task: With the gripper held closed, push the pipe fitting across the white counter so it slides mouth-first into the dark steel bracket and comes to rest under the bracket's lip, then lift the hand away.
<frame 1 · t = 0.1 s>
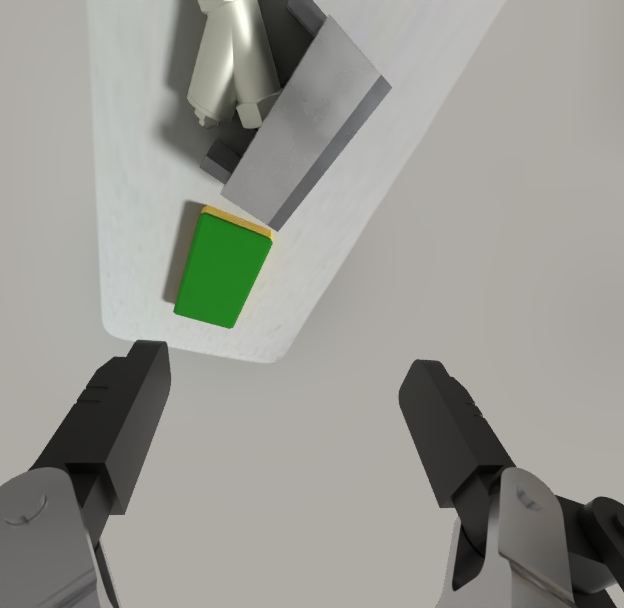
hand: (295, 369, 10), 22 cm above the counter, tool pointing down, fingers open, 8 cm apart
dish sponge: (222, 266, 34), on the counter
pipe fitting: (228, 59, 22), on the counter
bracket: (285, 114, 24), on the counter
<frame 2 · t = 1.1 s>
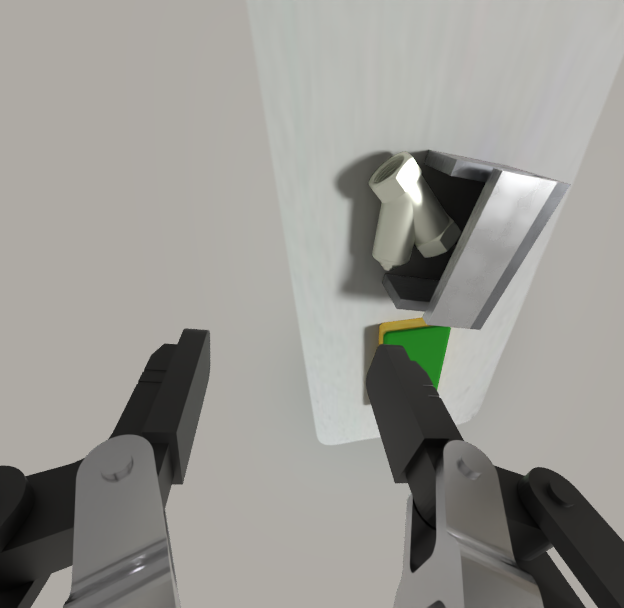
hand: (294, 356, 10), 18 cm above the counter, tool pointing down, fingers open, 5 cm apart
dish sponge: (404, 359, 37), on the counter
pipe fitting: (390, 214, 26), on the counter
bracket: (438, 229, 27), on the counter
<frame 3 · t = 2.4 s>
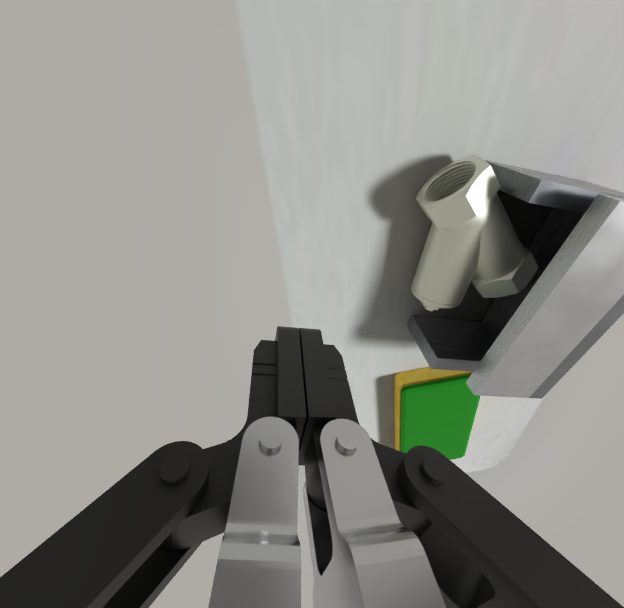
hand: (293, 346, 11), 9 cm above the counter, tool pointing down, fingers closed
dish sponge: (426, 406, 31), on the counter
pipe fitting: (437, 237, 20), on the counter
bracket: (485, 263, 21), on the counter
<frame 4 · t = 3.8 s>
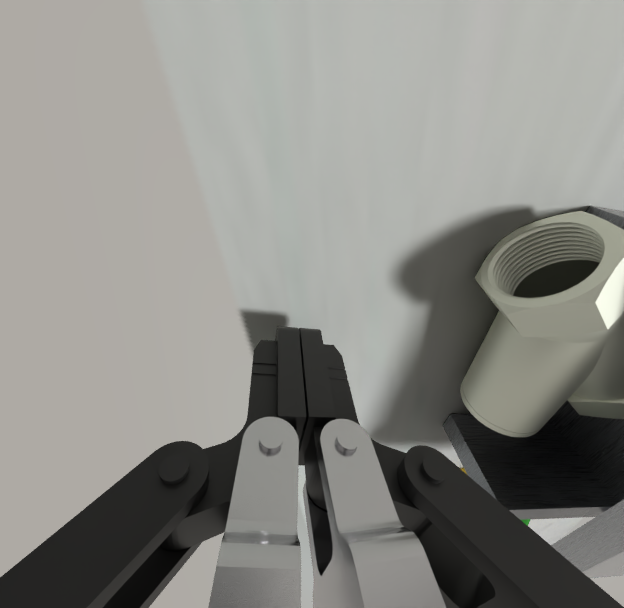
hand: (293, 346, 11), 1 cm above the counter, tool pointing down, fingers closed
pipe fitting: (500, 319, 13), on the counter
bracket: (565, 348, 14), on the counter
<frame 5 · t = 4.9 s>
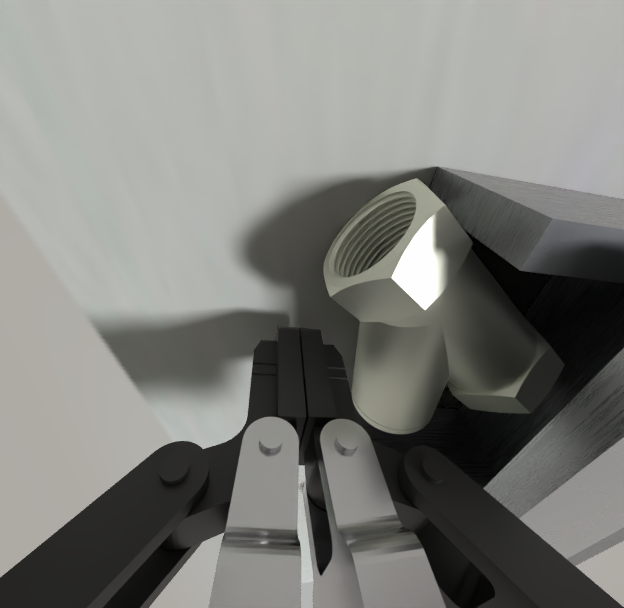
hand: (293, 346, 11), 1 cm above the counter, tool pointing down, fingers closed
pipe fitting: (387, 306, 12), on the counter, touching gripper
bracket: (457, 332, 13), on the counter
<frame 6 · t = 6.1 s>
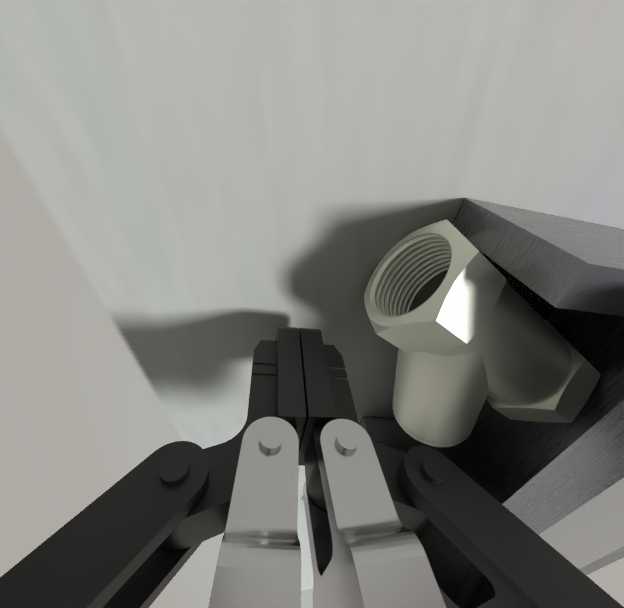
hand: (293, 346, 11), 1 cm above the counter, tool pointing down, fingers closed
pipe fitting: (421, 326, 13), on the counter
bracket: (471, 350, 13), on the counter
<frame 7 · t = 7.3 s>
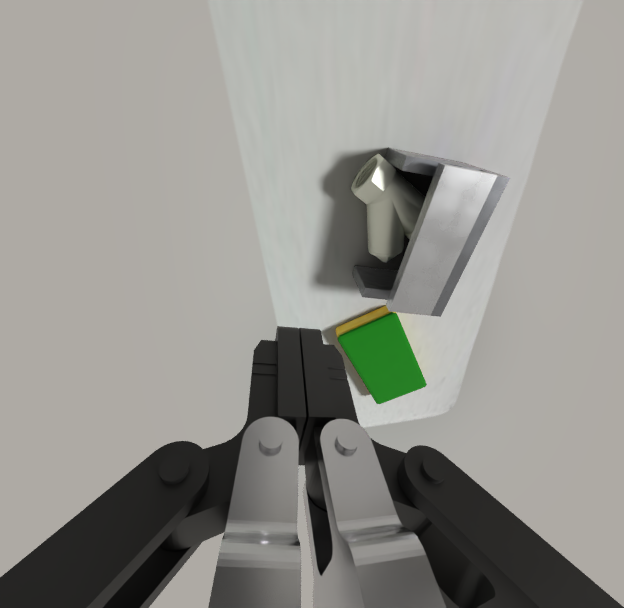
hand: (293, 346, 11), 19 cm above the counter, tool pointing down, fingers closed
dish sponge: (380, 350, 39), on the counter
pipe fitting: (379, 210, 29), on the counter
bracket: (402, 223, 29), on the counter
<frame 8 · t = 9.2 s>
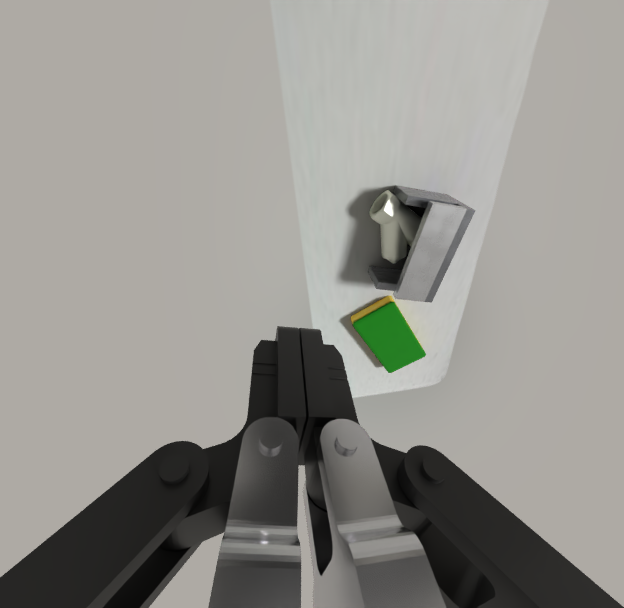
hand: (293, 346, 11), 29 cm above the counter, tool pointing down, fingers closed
dish sponge: (386, 330, 50), on the counter
pipe fitting: (388, 226, 40), on the counter
bracket: (405, 236, 40), on the counter
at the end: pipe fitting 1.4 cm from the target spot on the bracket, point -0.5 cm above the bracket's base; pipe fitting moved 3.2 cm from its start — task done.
